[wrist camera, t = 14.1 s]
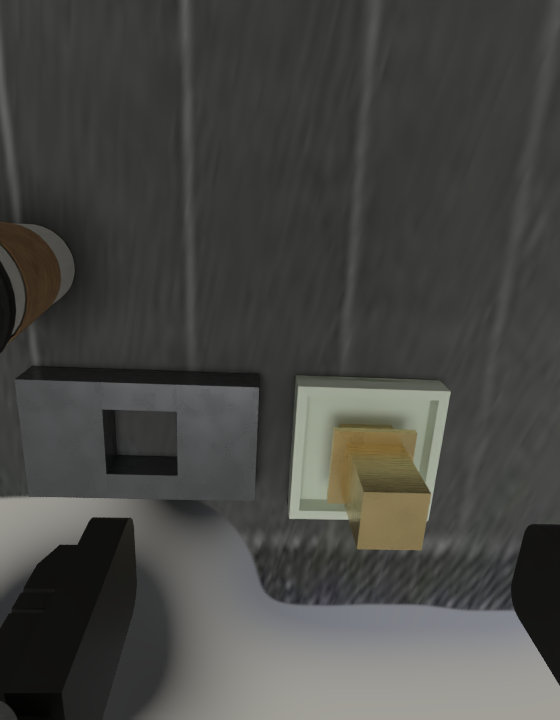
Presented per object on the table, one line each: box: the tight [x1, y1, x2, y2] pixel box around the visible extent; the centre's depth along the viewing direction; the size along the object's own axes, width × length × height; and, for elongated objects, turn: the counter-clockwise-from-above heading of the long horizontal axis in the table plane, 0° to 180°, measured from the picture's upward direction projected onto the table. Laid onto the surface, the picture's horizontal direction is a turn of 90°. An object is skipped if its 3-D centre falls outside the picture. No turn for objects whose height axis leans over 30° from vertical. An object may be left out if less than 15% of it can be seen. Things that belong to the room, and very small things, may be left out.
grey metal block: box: [15, 366, 259, 501], centre depth 40 cm, size 10×18×3 cm, turn 87°
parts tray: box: [287, 375, 451, 521], centre depth 42 cm, size 12×12×2 cm
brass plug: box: [327, 424, 431, 550], centre depth 37 cm, size 6×6×10 cm
